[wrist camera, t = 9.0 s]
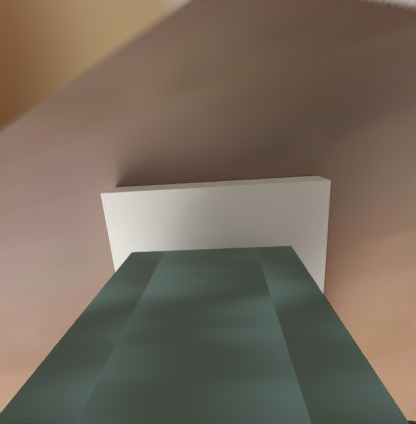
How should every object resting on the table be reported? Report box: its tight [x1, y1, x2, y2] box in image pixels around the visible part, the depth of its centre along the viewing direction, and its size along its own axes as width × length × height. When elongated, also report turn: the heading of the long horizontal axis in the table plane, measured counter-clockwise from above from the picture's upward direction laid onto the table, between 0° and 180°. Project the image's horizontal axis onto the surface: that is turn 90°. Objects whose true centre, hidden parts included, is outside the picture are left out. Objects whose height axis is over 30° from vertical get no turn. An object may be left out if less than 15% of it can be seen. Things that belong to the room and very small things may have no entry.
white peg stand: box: [101, 176, 331, 293], centre depth 9 cm, size 10×10×10 cm
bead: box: [0, 246, 409, 424], centre depth 7 cm, size 6×6×6 cm
